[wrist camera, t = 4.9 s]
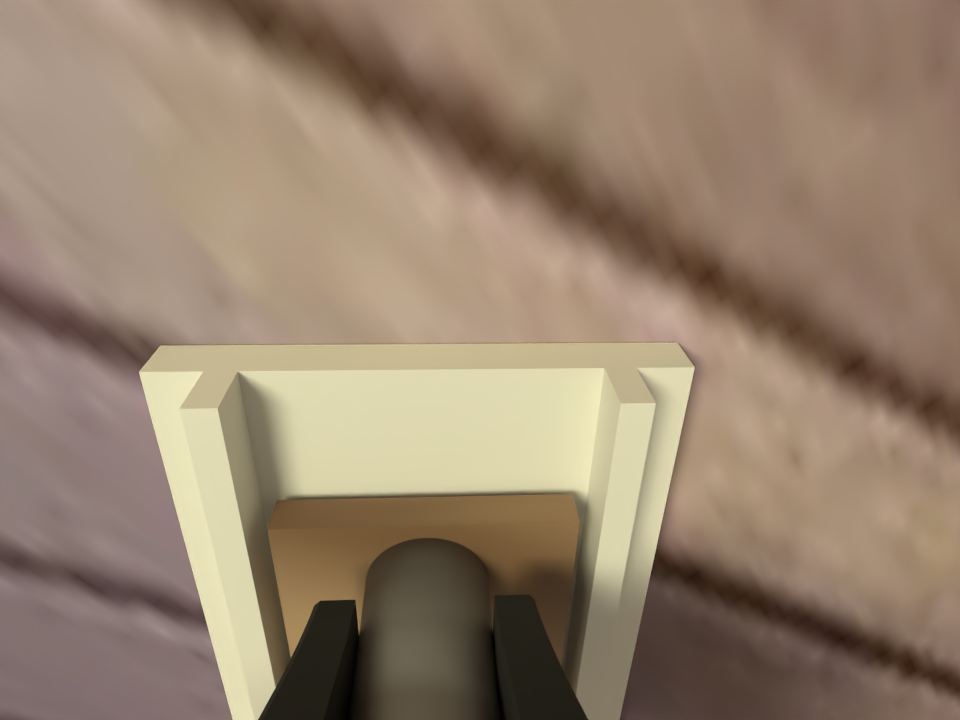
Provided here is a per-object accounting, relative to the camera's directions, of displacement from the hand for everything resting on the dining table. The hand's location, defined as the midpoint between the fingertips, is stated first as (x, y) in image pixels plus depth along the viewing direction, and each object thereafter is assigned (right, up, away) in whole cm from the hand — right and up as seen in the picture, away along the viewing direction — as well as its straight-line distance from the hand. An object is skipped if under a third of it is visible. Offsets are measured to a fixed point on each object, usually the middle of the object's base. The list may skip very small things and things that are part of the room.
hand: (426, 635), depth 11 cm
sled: (0, -5, +5) cm, 7 cm away
